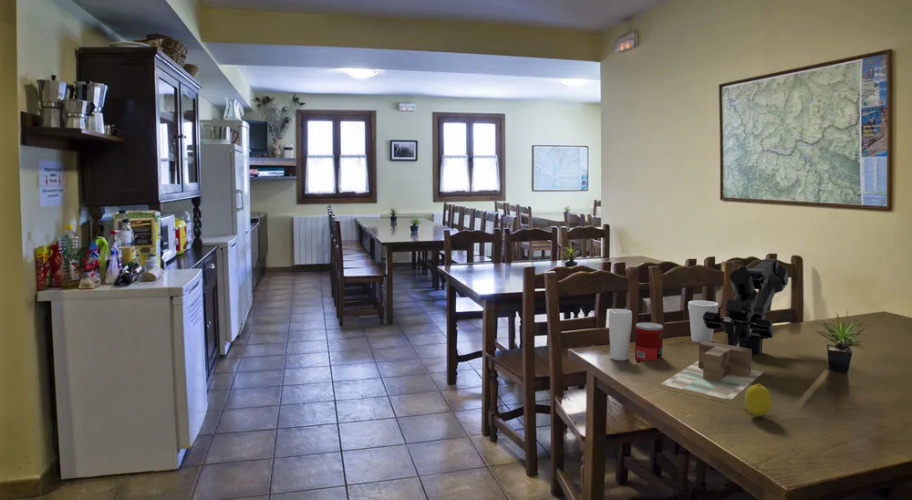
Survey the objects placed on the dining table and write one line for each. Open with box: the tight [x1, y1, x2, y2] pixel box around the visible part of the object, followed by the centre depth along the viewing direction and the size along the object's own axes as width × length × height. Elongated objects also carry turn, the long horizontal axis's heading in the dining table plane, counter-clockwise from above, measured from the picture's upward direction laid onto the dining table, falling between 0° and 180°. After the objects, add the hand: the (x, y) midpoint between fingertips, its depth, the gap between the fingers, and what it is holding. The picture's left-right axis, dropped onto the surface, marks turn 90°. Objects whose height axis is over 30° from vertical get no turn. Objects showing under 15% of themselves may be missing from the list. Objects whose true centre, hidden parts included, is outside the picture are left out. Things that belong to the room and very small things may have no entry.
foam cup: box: [687, 299, 719, 344], centre depth 214 cm, size 10×9×13 cm
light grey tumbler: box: [608, 308, 633, 362], centre depth 192 cm, size 7×7×15 cm
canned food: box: [634, 322, 664, 363], centre depth 191 cm, size 8×8×11 cm
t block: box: [698, 341, 753, 382], centre depth 174 cm, size 13×13×7 cm
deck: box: [659, 359, 765, 405], centre depth 171 cm, size 29×18×1 cm, turn 139°
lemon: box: [744, 383, 772, 418], centre depth 146 cm, size 6×6×8 cm
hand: (730, 348), depth 180 cm, fingers closed
